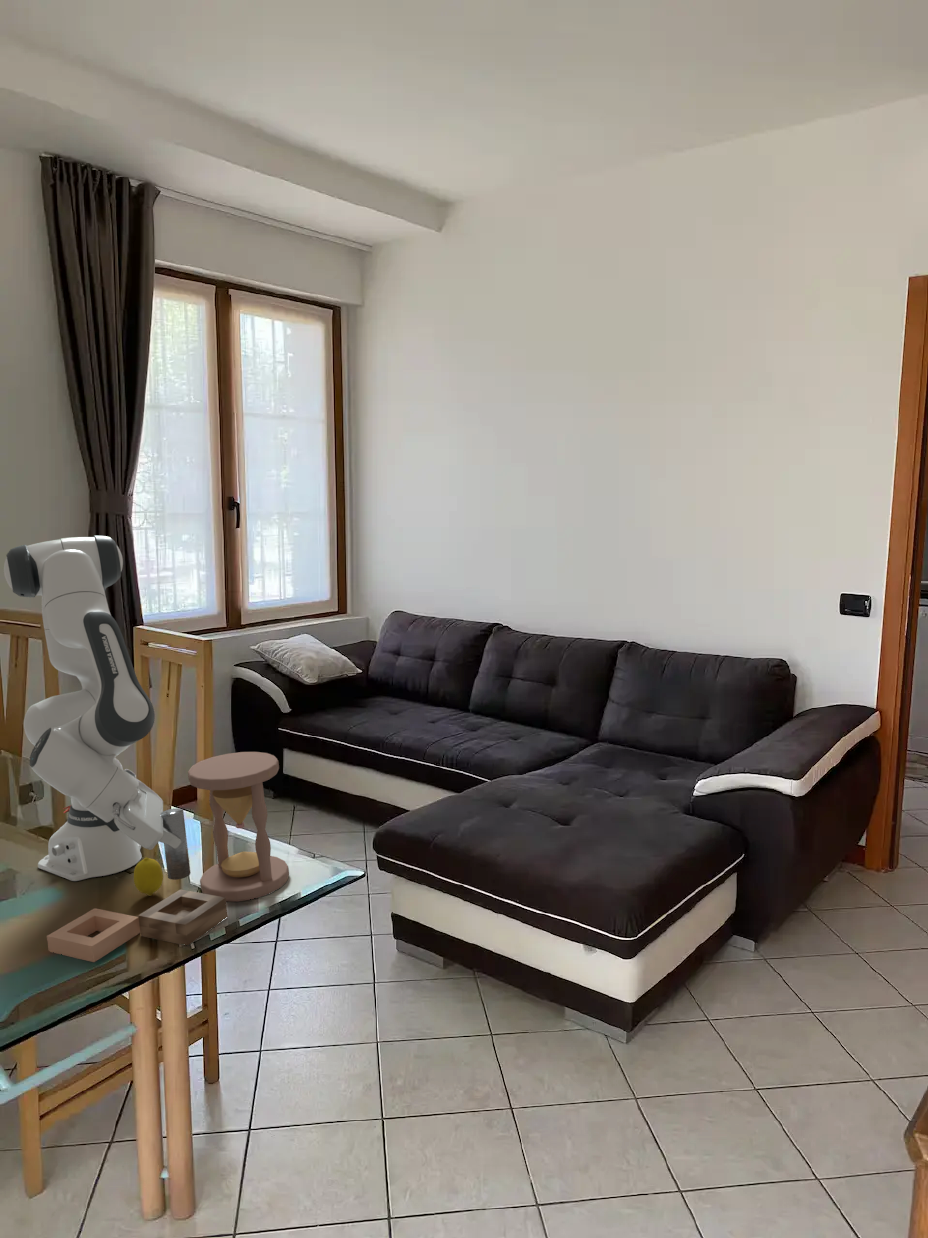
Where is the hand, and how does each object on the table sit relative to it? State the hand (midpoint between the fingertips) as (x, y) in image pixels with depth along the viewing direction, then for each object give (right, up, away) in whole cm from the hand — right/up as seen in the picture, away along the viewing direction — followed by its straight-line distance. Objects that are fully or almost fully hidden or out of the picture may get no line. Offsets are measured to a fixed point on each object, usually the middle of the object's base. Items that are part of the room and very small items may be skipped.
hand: (178, 838), depth 169 cm
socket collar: (-15, -18, -1) cm, 24 cm away
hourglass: (+8, -14, +20) cm, 26 cm away
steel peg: (0, -7, +1) cm, 7 cm away
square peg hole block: (0, -17, +3) cm, 17 cm away
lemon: (-11, -15, +17) cm, 25 cm away
